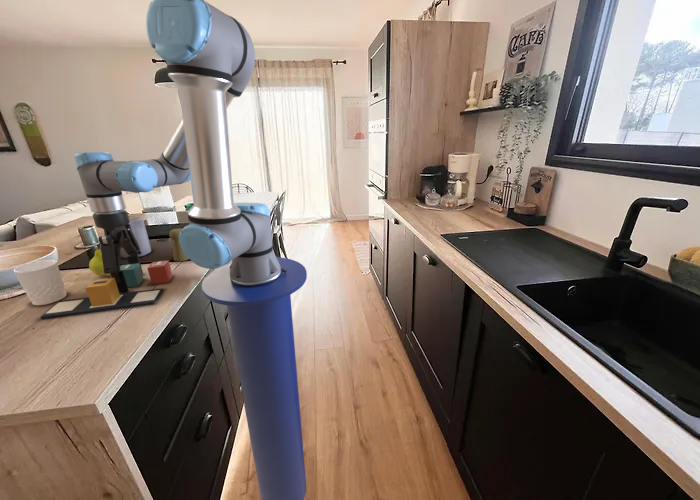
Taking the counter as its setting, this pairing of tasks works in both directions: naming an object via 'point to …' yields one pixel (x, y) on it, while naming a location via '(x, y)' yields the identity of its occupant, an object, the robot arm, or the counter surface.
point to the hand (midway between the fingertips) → (130, 283)
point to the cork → (177, 246)
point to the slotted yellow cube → (103, 292)
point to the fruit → (97, 264)
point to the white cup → (41, 281)
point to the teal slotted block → (132, 274)
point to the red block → (160, 272)
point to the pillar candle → (138, 236)
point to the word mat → (86, 307)
